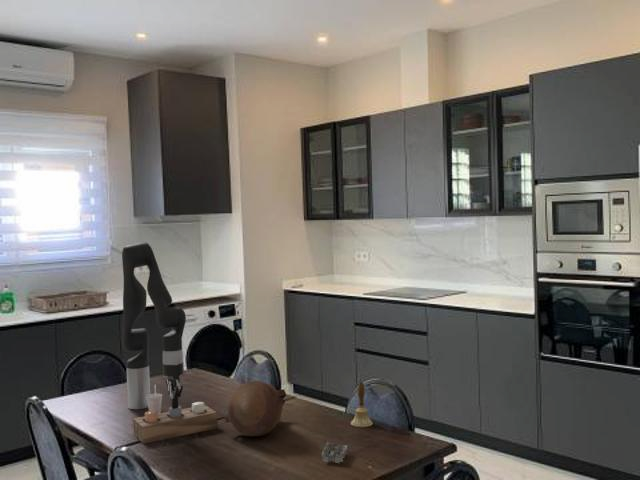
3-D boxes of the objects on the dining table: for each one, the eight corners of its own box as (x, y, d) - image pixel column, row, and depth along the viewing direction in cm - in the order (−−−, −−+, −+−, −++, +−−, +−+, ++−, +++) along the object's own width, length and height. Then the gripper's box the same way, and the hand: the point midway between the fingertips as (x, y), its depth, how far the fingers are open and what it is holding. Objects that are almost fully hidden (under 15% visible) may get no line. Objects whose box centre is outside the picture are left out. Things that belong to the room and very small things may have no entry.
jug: (261, 447, 217) (295, 434, 245) (274, 391, 218) (306, 384, 246) (211, 430, 225) (249, 419, 252) (224, 375, 226) (260, 370, 254)
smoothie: (159, 422, 249) (157, 386, 248) (143, 421, 250) (142, 386, 250) (166, 417, 255) (164, 382, 255) (151, 416, 256) (150, 382, 256)
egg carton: (327, 452, 212) (327, 440, 212) (349, 453, 210) (348, 441, 210) (319, 463, 202) (319, 451, 202) (342, 465, 200) (341, 452, 200)
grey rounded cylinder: (167, 423, 238) (167, 407, 238) (179, 420, 241) (179, 405, 240) (171, 426, 234) (171, 410, 234) (183, 424, 237) (183, 408, 236)
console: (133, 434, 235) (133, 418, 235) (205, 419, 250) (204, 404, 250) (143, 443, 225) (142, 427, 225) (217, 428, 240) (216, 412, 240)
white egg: (190, 418, 243) (190, 403, 243) (202, 416, 245) (201, 401, 245) (195, 422, 239) (194, 406, 239) (206, 419, 241) (206, 403, 241)
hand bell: (375, 421, 241) (374, 379, 241) (368, 428, 234) (366, 385, 233) (355, 419, 245) (354, 378, 244) (347, 426, 237) (345, 383, 237)
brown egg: (143, 428, 233) (143, 412, 233) (156, 425, 236) (155, 409, 236) (147, 431, 229) (146, 415, 229) (160, 429, 232) (159, 412, 232)
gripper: (157, 360, 240) (159, 405, 241) (168, 366, 229) (170, 414, 229) (176, 357, 244) (178, 402, 245) (188, 363, 233) (190, 410, 233)
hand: (174, 407), depth 237 cm, fingers closed
